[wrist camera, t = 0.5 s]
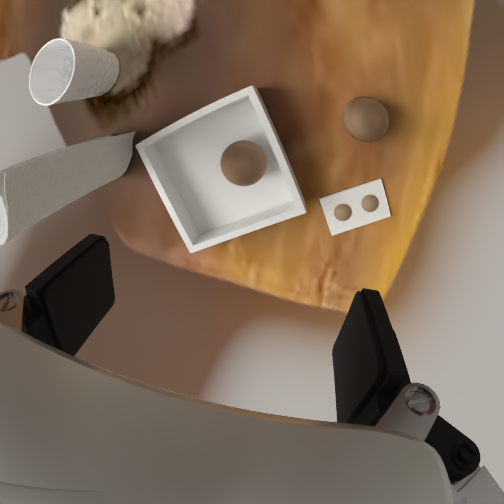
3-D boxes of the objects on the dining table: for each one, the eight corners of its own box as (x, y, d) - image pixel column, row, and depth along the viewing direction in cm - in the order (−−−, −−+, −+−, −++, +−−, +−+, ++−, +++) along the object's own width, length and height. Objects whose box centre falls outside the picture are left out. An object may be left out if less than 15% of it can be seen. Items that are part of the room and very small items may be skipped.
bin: (257, 88, 29) (252, 85, 26) (305, 201, 35) (306, 212, 31) (150, 140, 34) (135, 145, 30) (199, 239, 39) (190, 253, 36)
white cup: (89, 43, 28) (40, 36, 19) (132, 50, 28) (84, 40, 20) (72, 94, 31) (23, 99, 23) (112, 105, 32) (63, 111, 23)
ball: (258, 131, 31) (252, 135, 27) (275, 171, 33) (272, 181, 29) (219, 148, 33) (207, 155, 28) (236, 186, 35) (227, 198, 30)
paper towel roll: (99, 179, 37) (-17, 246, 18) (93, 138, 34) (-33, 183, 16) (141, 175, 36) (22, 248, 17) (136, 131, 33) (3, 172, 15)
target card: (380, 178, 32) (381, 179, 32) (390, 215, 34) (391, 216, 34) (318, 198, 34) (319, 199, 34) (331, 234, 36) (331, 236, 36)
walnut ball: (372, 92, 28) (385, 90, 23) (386, 132, 30) (401, 137, 25) (332, 104, 29) (339, 103, 25) (348, 144, 31) (357, 150, 27)
